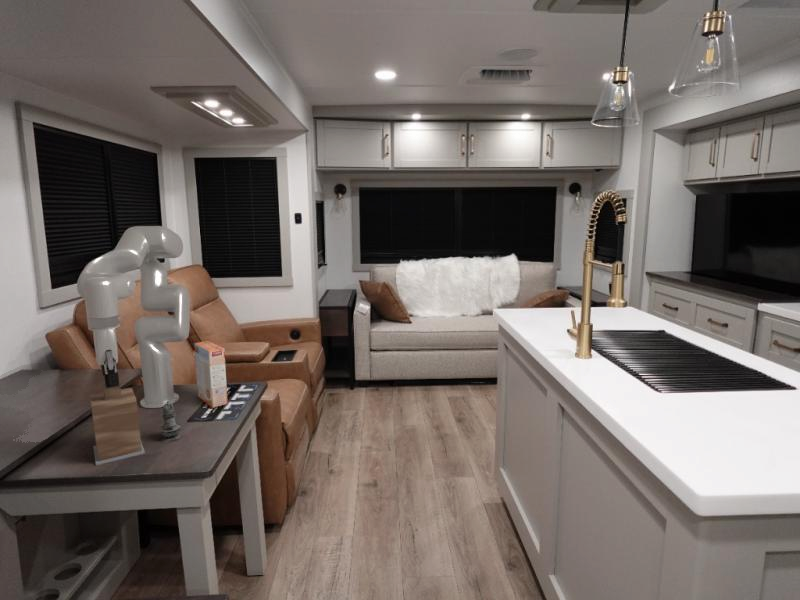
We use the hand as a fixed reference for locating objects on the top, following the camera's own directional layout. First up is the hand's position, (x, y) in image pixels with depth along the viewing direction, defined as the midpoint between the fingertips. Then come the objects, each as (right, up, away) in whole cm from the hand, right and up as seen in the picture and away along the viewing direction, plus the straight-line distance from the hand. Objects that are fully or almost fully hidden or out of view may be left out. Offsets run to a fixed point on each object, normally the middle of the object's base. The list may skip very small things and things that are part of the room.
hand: (111, 381), depth 140 cm
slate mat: (0, -21, +4) cm, 21 cm away
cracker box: (+14, -14, +40) cm, 45 cm away
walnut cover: (0, -20, +4) cm, 20 cm away
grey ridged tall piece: (+12, -19, +11) cm, 25 cm away
